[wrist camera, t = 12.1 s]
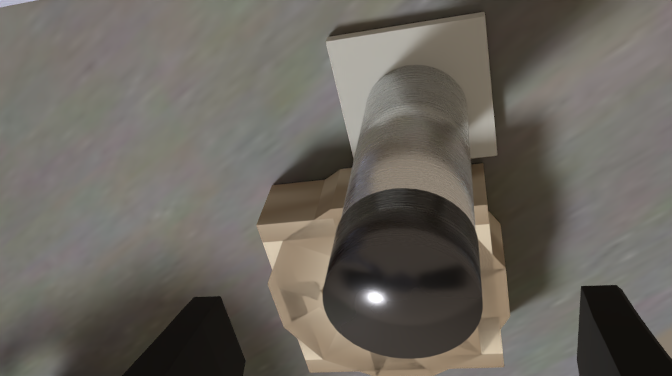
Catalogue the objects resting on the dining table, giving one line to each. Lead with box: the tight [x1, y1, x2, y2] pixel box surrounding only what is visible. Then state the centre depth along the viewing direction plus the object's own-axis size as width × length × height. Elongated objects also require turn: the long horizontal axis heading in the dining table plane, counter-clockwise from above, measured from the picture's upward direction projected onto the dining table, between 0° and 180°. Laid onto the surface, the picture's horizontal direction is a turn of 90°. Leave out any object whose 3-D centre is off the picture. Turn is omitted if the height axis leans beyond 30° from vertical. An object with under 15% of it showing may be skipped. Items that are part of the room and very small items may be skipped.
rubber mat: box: [326, 12, 497, 158], centre depth 21 cm, size 5×5×1 cm
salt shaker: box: [322, 65, 483, 359], centre depth 17 cm, size 4×4×9 cm
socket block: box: [257, 163, 510, 376], centre depth 24 cm, size 9×9×2 cm
